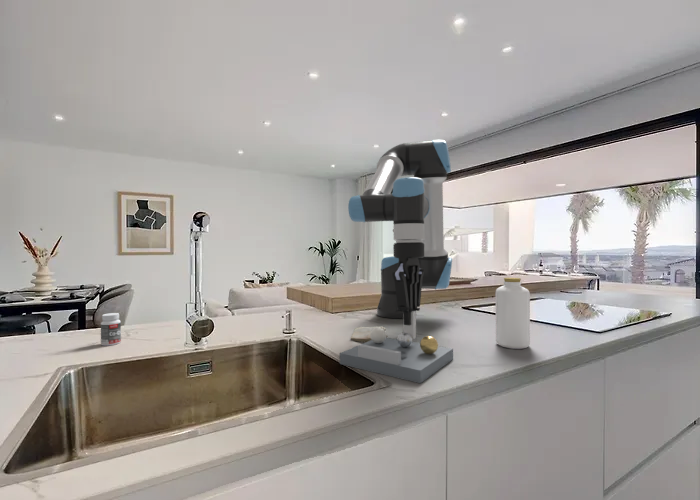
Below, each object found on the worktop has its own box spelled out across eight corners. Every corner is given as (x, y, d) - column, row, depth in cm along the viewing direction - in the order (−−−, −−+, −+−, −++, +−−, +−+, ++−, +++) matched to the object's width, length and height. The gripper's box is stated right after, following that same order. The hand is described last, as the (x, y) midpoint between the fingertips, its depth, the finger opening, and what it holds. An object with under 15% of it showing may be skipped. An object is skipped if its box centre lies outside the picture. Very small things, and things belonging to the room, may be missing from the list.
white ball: (375, 340, 92) (375, 324, 92) (389, 342, 90) (389, 326, 90) (367, 343, 89) (367, 327, 89) (381, 346, 86) (380, 329, 86)
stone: (387, 347, 96) (387, 338, 96) (348, 346, 97) (348, 337, 97) (387, 333, 111) (387, 325, 111) (353, 333, 112) (353, 324, 112)
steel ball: (402, 333, 88) (396, 329, 86) (415, 335, 86) (409, 332, 84) (399, 347, 87) (393, 344, 85) (412, 349, 85) (406, 346, 83)
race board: (380, 345, 96) (380, 327, 96) (453, 359, 84) (452, 338, 84) (339, 363, 81) (339, 342, 81) (420, 383, 70) (420, 357, 69)
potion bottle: (522, 341, 99) (522, 276, 98) (535, 350, 90) (535, 279, 90) (491, 341, 99) (491, 276, 99) (501, 349, 91) (501, 279, 91)
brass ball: (424, 350, 83) (424, 333, 83) (440, 353, 81) (440, 335, 81) (417, 354, 80) (416, 336, 80) (433, 357, 77) (433, 339, 77)
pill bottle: (111, 346, 98) (110, 316, 98) (96, 345, 99) (96, 315, 99) (125, 341, 102) (124, 312, 102) (111, 341, 103) (110, 312, 103)
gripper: (407, 242, 95) (407, 330, 95) (382, 241, 84) (383, 341, 84) (433, 241, 90) (434, 334, 91) (410, 241, 80) (411, 346, 80)
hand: (409, 337), depth 87 cm, fingers closed
